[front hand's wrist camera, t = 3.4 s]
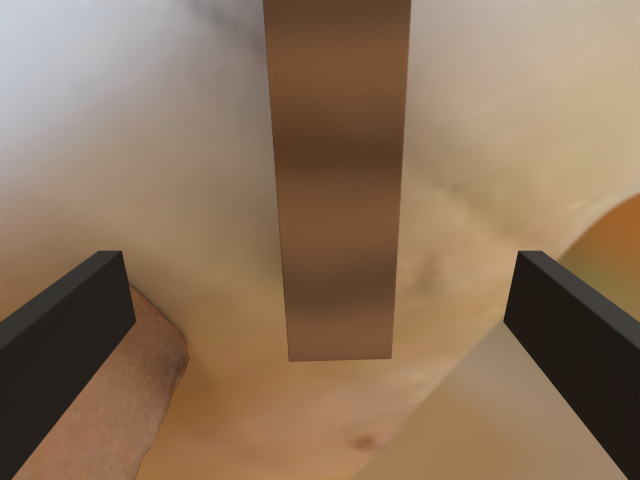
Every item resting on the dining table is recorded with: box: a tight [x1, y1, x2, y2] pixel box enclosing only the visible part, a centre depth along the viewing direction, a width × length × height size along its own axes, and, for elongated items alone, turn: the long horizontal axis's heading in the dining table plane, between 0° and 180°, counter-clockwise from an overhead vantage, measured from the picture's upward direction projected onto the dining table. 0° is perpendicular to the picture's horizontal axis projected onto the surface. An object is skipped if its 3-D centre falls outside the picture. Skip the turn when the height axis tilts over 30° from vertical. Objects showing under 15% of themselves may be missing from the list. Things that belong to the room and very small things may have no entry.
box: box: [263, 0, 411, 362], centre depth 22 cm, size 24×6×8 cm, turn 2°
